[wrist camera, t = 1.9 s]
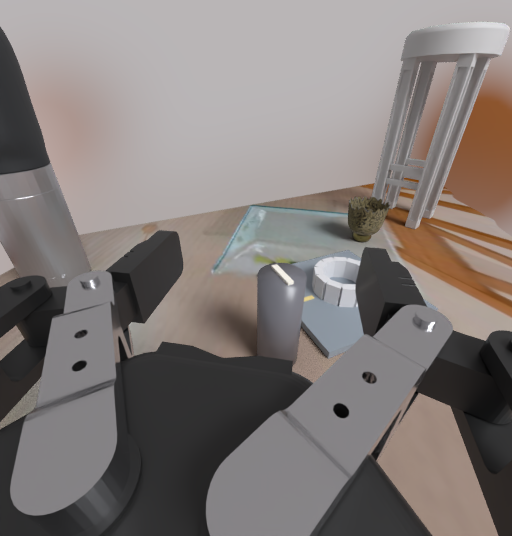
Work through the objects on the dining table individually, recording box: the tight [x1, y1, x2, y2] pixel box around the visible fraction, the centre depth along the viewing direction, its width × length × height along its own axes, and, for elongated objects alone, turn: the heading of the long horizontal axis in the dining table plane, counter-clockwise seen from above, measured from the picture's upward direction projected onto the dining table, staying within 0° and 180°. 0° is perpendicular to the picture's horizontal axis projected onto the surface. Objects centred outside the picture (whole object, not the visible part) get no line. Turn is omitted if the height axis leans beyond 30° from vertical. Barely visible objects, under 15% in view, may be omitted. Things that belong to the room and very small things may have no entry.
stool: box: [372, 22, 510, 229], centre depth 58 cm, size 16×16×35 cm
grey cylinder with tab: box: [257, 263, 307, 366], centre depth 29 cm, size 5×5×11 cm
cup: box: [348, 196, 391, 242], centre depth 55 cm, size 8×7×8 cm
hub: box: [292, 250, 438, 359], centre depth 40 cm, size 18×18×4 cm
